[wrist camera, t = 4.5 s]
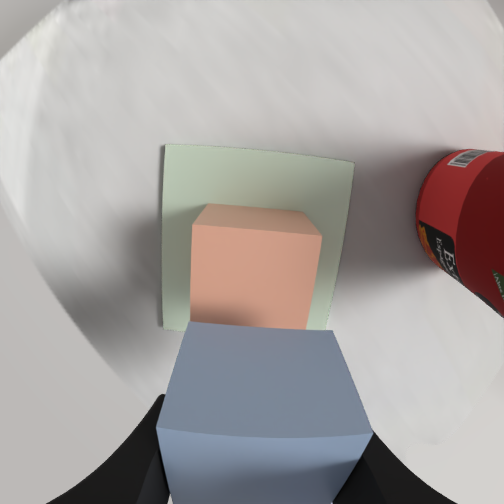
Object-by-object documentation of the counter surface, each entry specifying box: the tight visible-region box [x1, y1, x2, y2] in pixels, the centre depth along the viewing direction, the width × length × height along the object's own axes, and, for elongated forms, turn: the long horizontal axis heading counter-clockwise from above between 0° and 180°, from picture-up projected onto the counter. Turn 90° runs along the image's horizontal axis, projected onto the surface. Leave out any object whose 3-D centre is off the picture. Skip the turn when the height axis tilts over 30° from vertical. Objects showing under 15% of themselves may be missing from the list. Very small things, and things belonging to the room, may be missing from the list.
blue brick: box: [156, 321, 373, 504], centre depth 9 cm, size 5×5×5 cm
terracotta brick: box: [190, 203, 322, 330], centre depth 15 cm, size 5×5×5 cm
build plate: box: [162, 144, 355, 332], centre depth 18 cm, size 11×10×1 cm
